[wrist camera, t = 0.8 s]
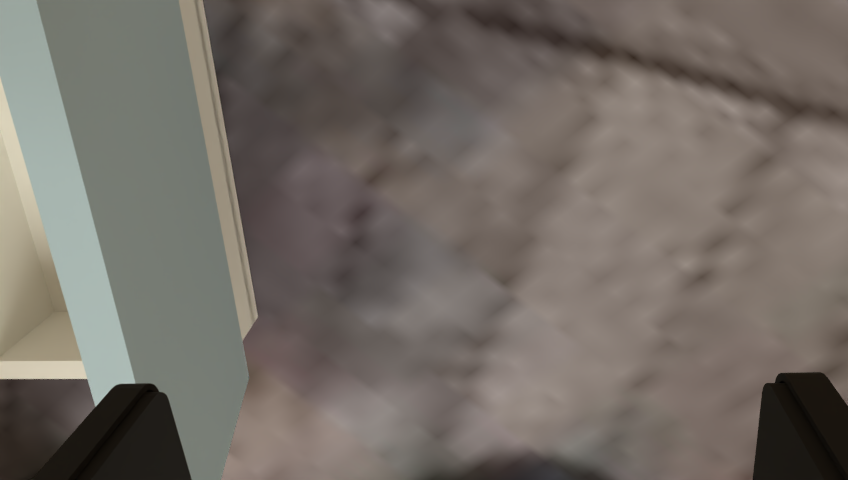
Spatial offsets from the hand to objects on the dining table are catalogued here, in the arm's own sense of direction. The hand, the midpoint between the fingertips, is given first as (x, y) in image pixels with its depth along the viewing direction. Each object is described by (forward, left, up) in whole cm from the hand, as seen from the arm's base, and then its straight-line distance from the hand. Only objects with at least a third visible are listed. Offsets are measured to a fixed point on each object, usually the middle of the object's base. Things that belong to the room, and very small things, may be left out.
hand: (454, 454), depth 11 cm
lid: (0, +11, -12) cm, 16 cm away
